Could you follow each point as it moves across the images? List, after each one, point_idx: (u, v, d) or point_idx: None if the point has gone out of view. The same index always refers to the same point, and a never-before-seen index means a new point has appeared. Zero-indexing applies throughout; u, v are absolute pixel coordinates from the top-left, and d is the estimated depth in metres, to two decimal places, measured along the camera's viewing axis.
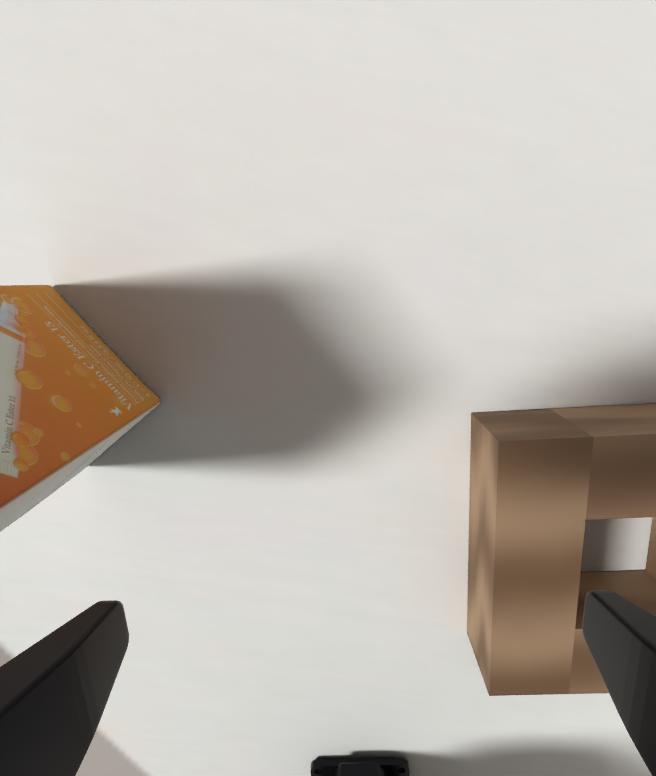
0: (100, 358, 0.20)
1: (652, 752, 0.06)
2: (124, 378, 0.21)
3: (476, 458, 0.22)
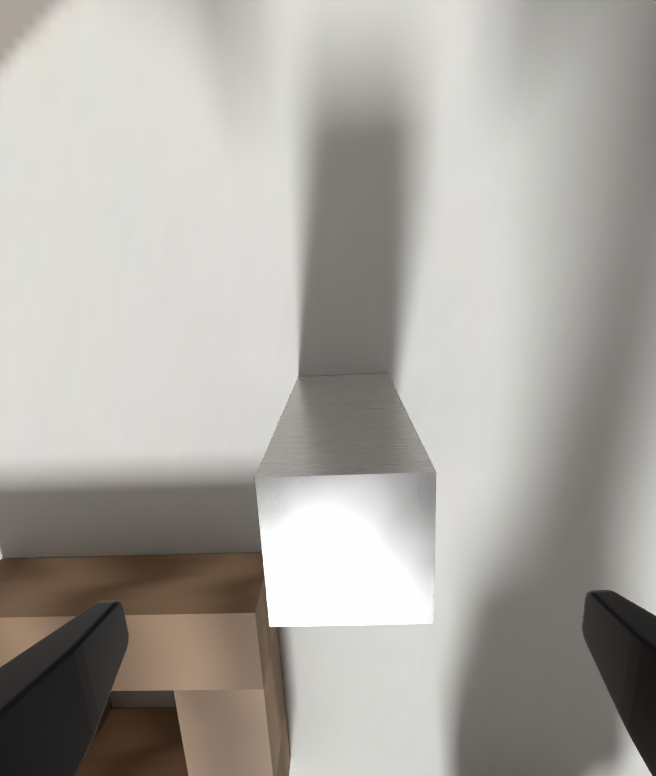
0: None
1: (652, 752, 0.06)
2: None
3: None
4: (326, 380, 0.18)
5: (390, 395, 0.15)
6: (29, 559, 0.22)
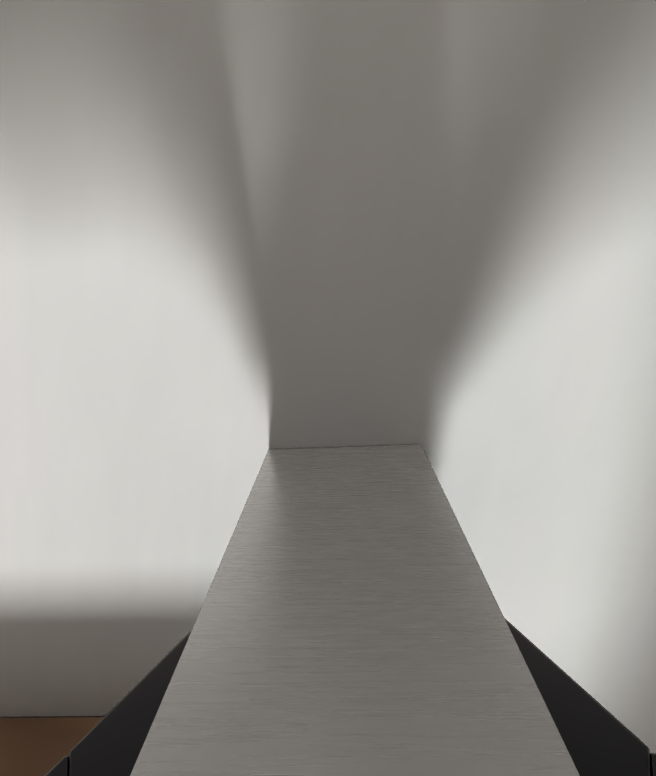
0: None
1: None
2: None
3: None
4: (315, 463, 0.10)
5: (442, 523, 0.08)
6: None
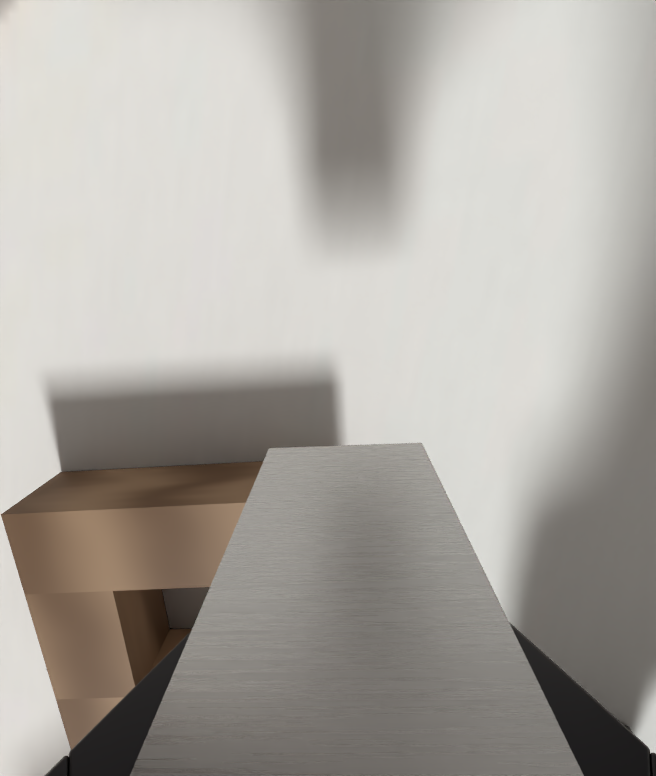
0: None
1: None
2: None
3: None
4: (316, 462, 0.10)
5: (442, 521, 0.08)
6: (89, 471, 0.22)
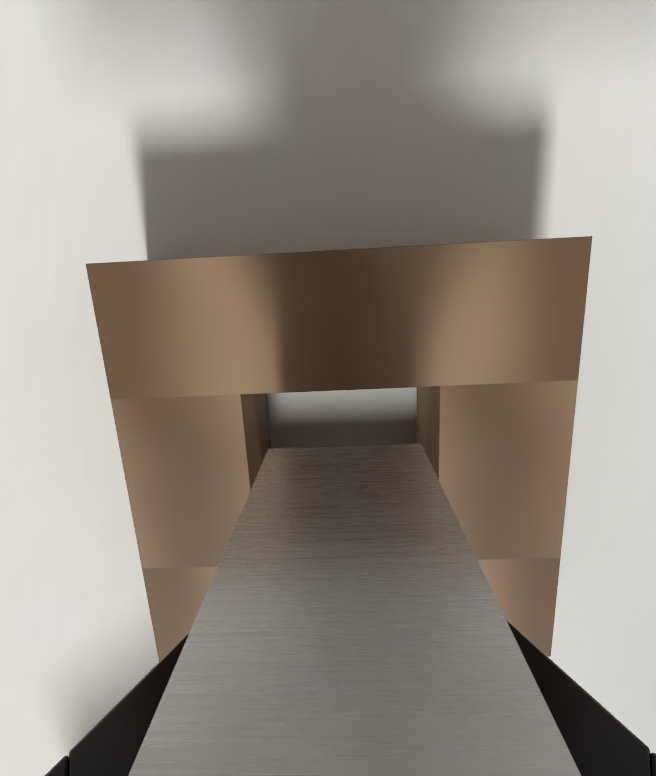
0: None
1: None
2: None
3: None
4: (315, 463, 0.10)
5: (441, 522, 0.08)
6: None
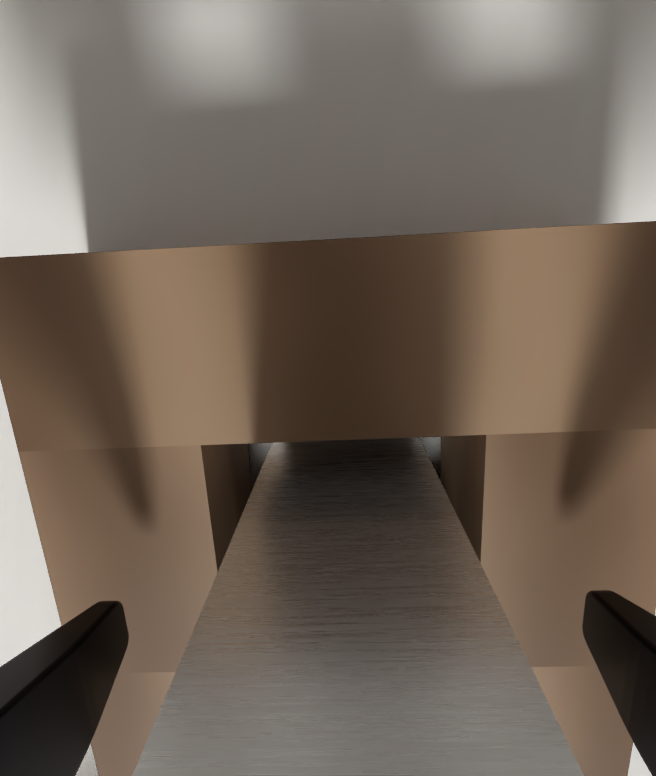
0: None
1: (652, 752, 0.06)
2: None
3: None
4: None
5: (422, 472, 0.09)
6: None
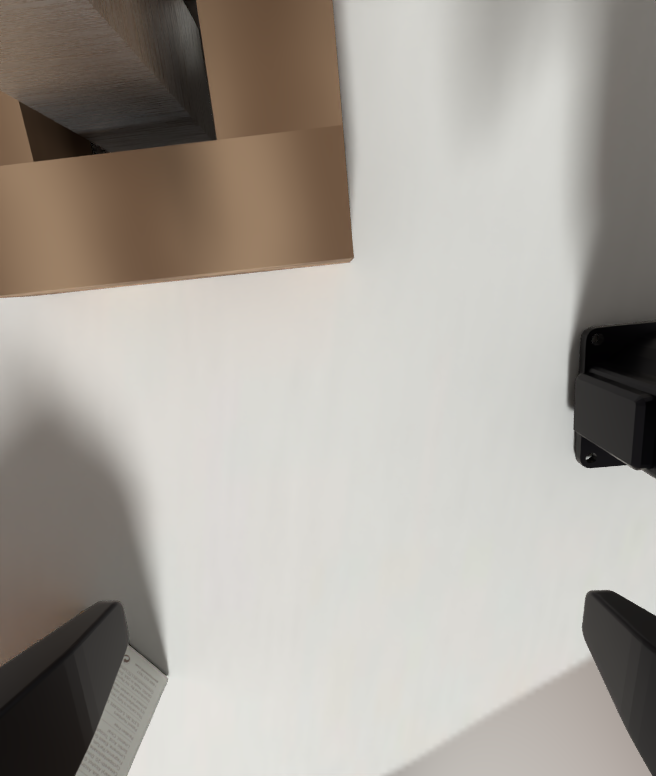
0: None
1: (652, 752, 0.06)
2: None
3: (63, 291, 0.18)
4: None
5: None
6: None
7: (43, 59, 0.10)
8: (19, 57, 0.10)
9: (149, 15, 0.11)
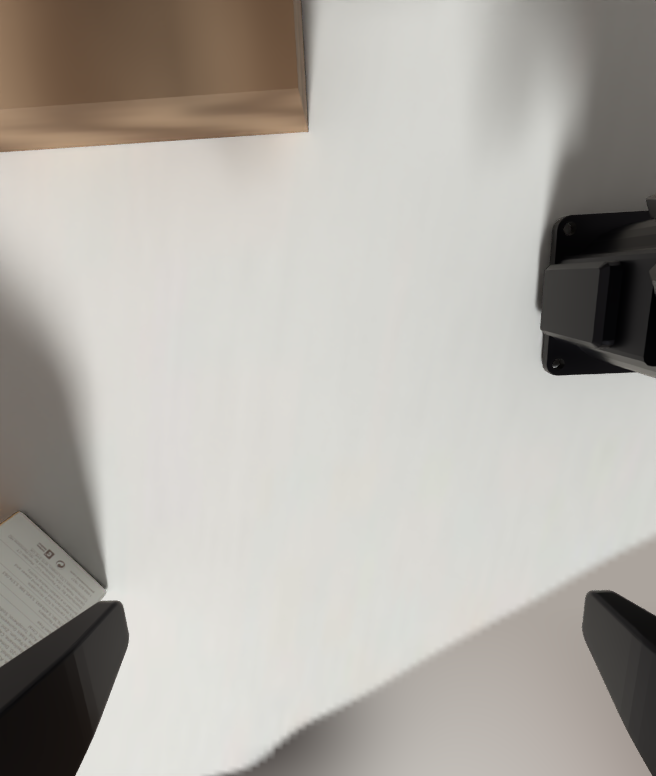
0: None
1: (652, 752, 0.06)
2: None
3: None
4: None
5: None
6: None
7: None
8: None
9: None
